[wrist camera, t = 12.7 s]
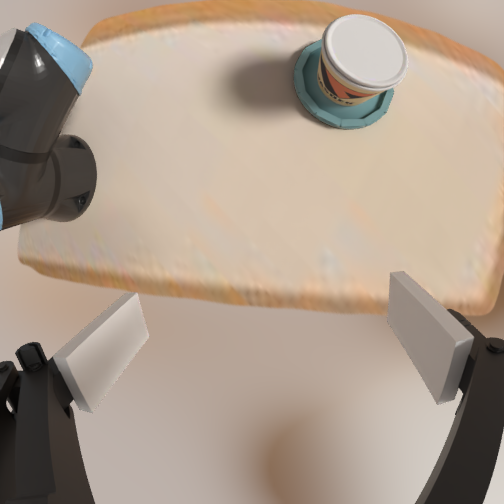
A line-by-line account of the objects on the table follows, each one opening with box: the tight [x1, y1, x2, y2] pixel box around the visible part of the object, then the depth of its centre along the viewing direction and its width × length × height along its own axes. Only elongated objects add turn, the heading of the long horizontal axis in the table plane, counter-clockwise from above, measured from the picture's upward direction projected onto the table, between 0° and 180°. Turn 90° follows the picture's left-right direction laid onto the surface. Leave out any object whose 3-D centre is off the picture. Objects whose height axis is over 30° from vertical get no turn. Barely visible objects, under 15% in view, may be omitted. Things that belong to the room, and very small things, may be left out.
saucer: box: [294, 39, 394, 129], centre depth 33 cm, size 14×14×2 cm
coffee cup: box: [317, 14, 408, 106], centre depth 27 cm, size 9×9×12 cm
